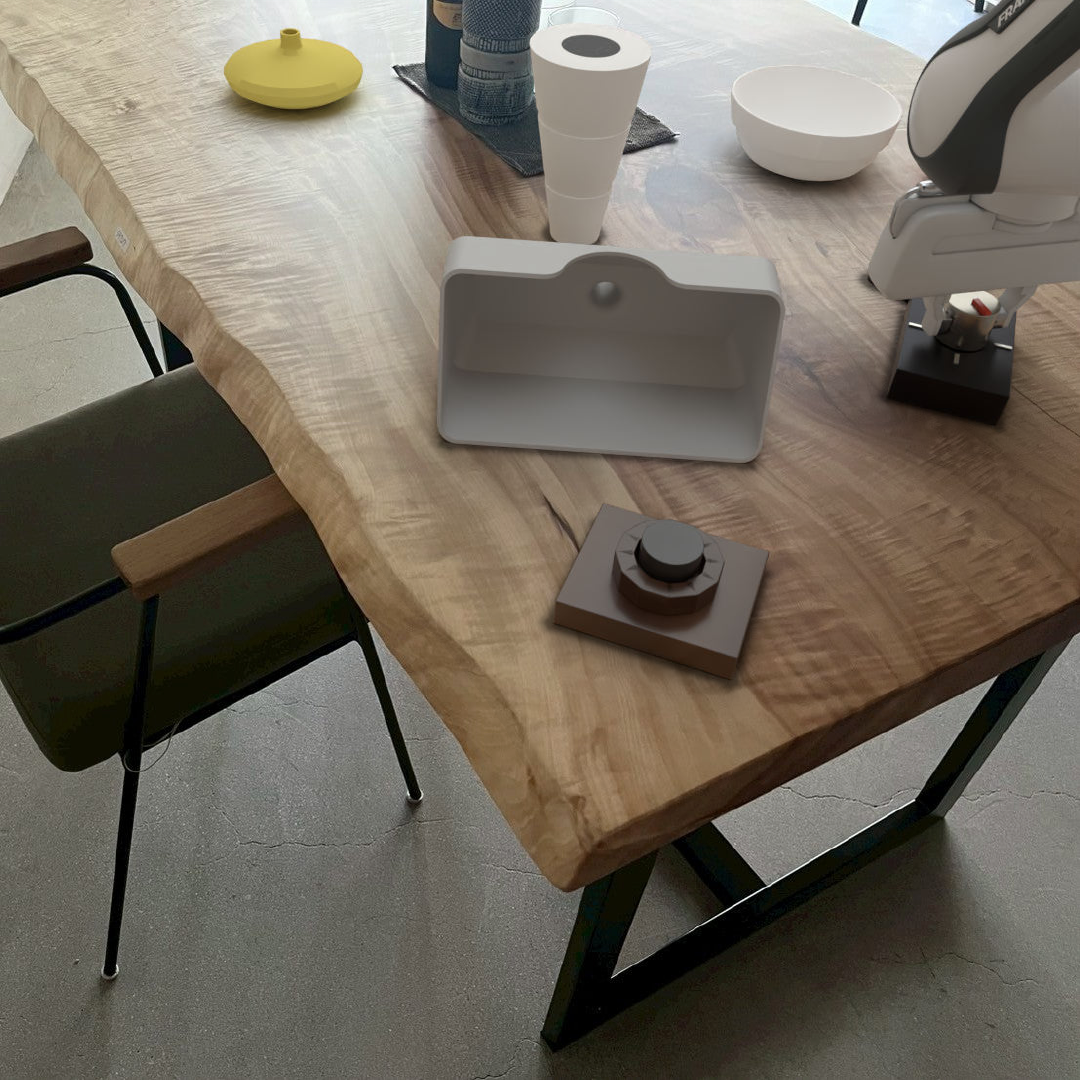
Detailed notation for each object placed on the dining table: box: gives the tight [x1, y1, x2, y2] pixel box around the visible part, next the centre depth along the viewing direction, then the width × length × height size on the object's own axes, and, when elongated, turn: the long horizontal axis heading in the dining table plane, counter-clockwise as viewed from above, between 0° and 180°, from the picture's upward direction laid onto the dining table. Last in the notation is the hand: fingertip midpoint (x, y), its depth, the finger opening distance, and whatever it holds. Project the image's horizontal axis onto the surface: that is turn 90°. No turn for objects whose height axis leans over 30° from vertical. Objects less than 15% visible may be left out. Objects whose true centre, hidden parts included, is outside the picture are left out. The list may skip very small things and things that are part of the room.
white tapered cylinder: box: [529, 22, 653, 245], centre depth 97 cm, size 11×11×18 cm
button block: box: [553, 502, 771, 680], centre depth 69 cm, size 12×10×4 cm
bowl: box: [730, 64, 903, 182], centre depth 115 cm, size 18×18×7 cm
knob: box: [936, 291, 1001, 351], centre depth 88 cm, size 4×4×4 cm
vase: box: [223, 27, 364, 110], centre depth 120 cm, size 16×16×7 cm
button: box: [639, 519, 704, 583], centre depth 67 cm, size 4×4×2 cm
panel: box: [886, 297, 1018, 426], centre depth 90 cm, size 14×9×3 cm, turn 160°
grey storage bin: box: [436, 235, 786, 464], centre depth 82 cm, size 25×16×12 cm, turn 88°
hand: (963, 328), depth 89 cm, fingers closed on knob, 4 cm apart
